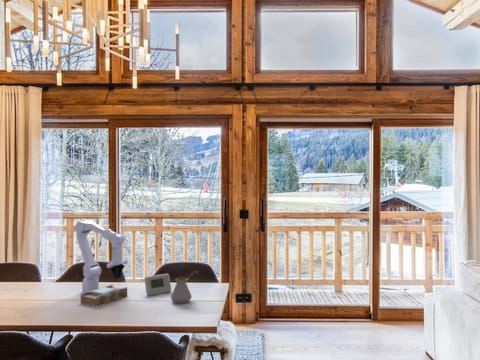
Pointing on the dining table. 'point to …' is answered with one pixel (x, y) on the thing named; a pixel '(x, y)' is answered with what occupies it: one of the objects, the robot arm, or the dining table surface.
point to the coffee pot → (181, 291)
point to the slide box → (103, 296)
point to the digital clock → (157, 284)
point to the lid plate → (102, 291)
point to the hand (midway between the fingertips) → (117, 277)
